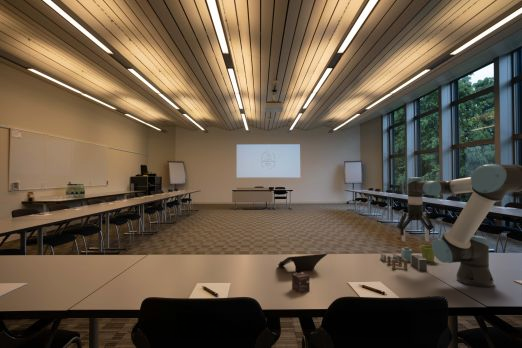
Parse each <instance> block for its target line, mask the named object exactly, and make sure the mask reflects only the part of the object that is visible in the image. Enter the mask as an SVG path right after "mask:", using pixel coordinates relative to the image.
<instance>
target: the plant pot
mask: <svg viewBox="0 0 522 348" xmlns="http://www.w3.org/2000/svg"><path fill="white" fill-rule="evenodd" d="M419 249H420V252H421V257H423V258H425V259H427V263H429V262H431V263H434V261H435V255H434V253H433V249H432V245H426V244H424V245H423V244H422V245H420V246H419Z"/></svg>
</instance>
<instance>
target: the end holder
mask: <svg viewBox="0 0 522 348" xmlns="http://www.w3.org/2000/svg"><path fill="white" fill-rule="evenodd" d="M399 256H400V255H399V254H397V253H395V252H392V257H391V263H392V259H394V260H395V263H399ZM380 260H381V261H383V262H384V263H388V257H387V255H386V254H385V253H383V252H380Z"/></svg>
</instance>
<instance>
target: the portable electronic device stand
mask: <svg viewBox="0 0 522 348" xmlns="http://www.w3.org/2000/svg"><path fill="white" fill-rule="evenodd" d="M327 255H328V253H319V254H317V253H316V254H309V255H308V254H307V255H296V256H288V257H286V258H285V259H283V260H282V261H279V263H278V264H277V265H278V267H279V268H282V267H284V266H286V265H288V264H290V263H293V264H294V267H295V269H294V270H295V271H294V273H296V272H299V273H305V272H313V271H314V269H315V267H316V266H317V264H318V263H319V262H320V261H321V260H322V259H324V258H325V257H326V256H327Z"/></svg>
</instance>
